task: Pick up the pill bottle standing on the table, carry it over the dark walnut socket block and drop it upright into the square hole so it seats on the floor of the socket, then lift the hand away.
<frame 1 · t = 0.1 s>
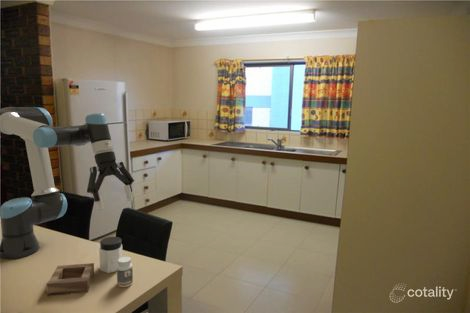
hand: (116, 205, 128), 28 cm above the table, tool tilted 20°, fingers open, 13 cm apart
jar: (111, 268, 134), on the table
pill bottle: (125, 284, 123), on the table
socket block: (72, 284, 121), on the table
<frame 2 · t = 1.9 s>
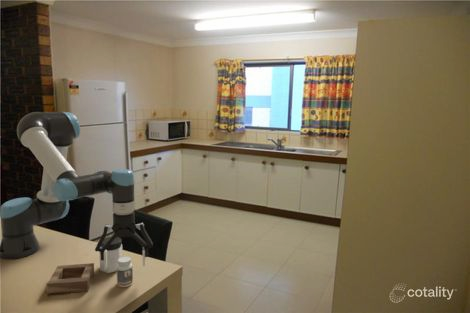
hand: (125, 266, 122), 7 cm above the table, tool pointing down, fingers open, 13 cm apart
nothing on the table moved.
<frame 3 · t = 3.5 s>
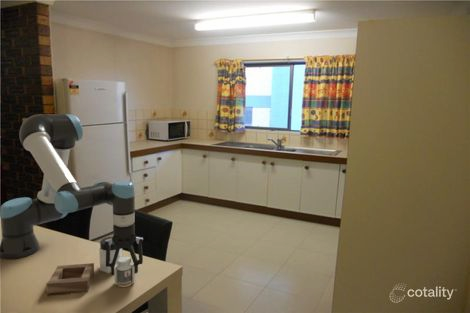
hand: (124, 281, 123), 1 cm above the table, tool pointing down, fingers closed on pill bottle, 6 cm apart
pill bottle: (125, 284, 123), on the table, touching gripper
everything else where it was.
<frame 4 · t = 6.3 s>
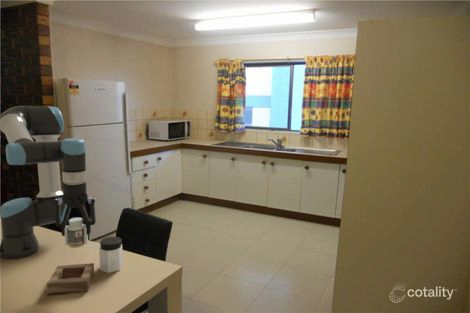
hand: (76, 242, 120), 16 cm above the table, tool pointing down, fingers closed on pill bottle, 6 cm apart
pill bottle: (76, 245, 120), point 15 cm above the table, touching gripper
everything else where it was.
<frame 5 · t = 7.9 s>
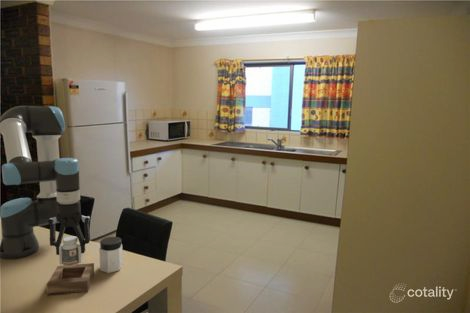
hand: (71, 261, 120), 9 cm above the table, tool pointing down, fingers closed on pill bottle, 6 cm apart
pill bottle: (71, 264, 120), point 8 cm above the table, touching gripper
everything else where it was.
when the fingers open (7 cm above the table, at t = 9.1 s): pill bottle drops 5 cm, resting on socket block.
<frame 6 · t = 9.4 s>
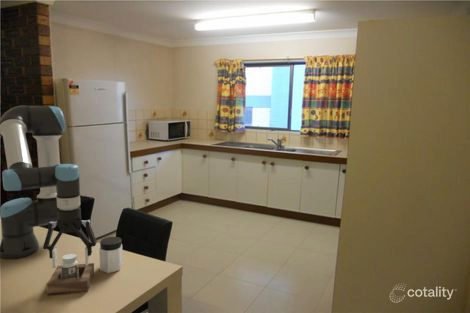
hand: (71, 264, 120), 8 cm above the table, tool pointing down, fingers open, 10 cm apart
pill bottle: (70, 282, 121), point 1 cm above the table, touching socket block
everything else where it was.
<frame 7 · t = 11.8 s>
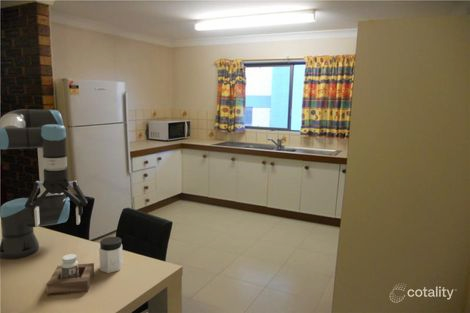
hand: (58, 224, 120), 23 cm above the table, tool pointing down, fingers open, 13 cm apart
nothing on the table moved.
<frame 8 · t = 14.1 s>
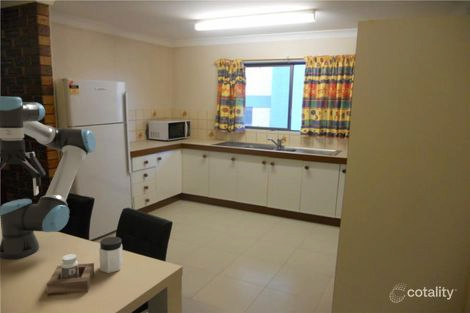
hand: (16, 194, 123), 32 cm above the table, tool pointing down, fingers open, 13 cm apart
nothing on the table moved.
at the end: pill bottle 0.6 cm off-centre on the socket block, point 0.8 cm above the socket block's base; pill bottle tilted 0°; the gripper is holding nothing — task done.
